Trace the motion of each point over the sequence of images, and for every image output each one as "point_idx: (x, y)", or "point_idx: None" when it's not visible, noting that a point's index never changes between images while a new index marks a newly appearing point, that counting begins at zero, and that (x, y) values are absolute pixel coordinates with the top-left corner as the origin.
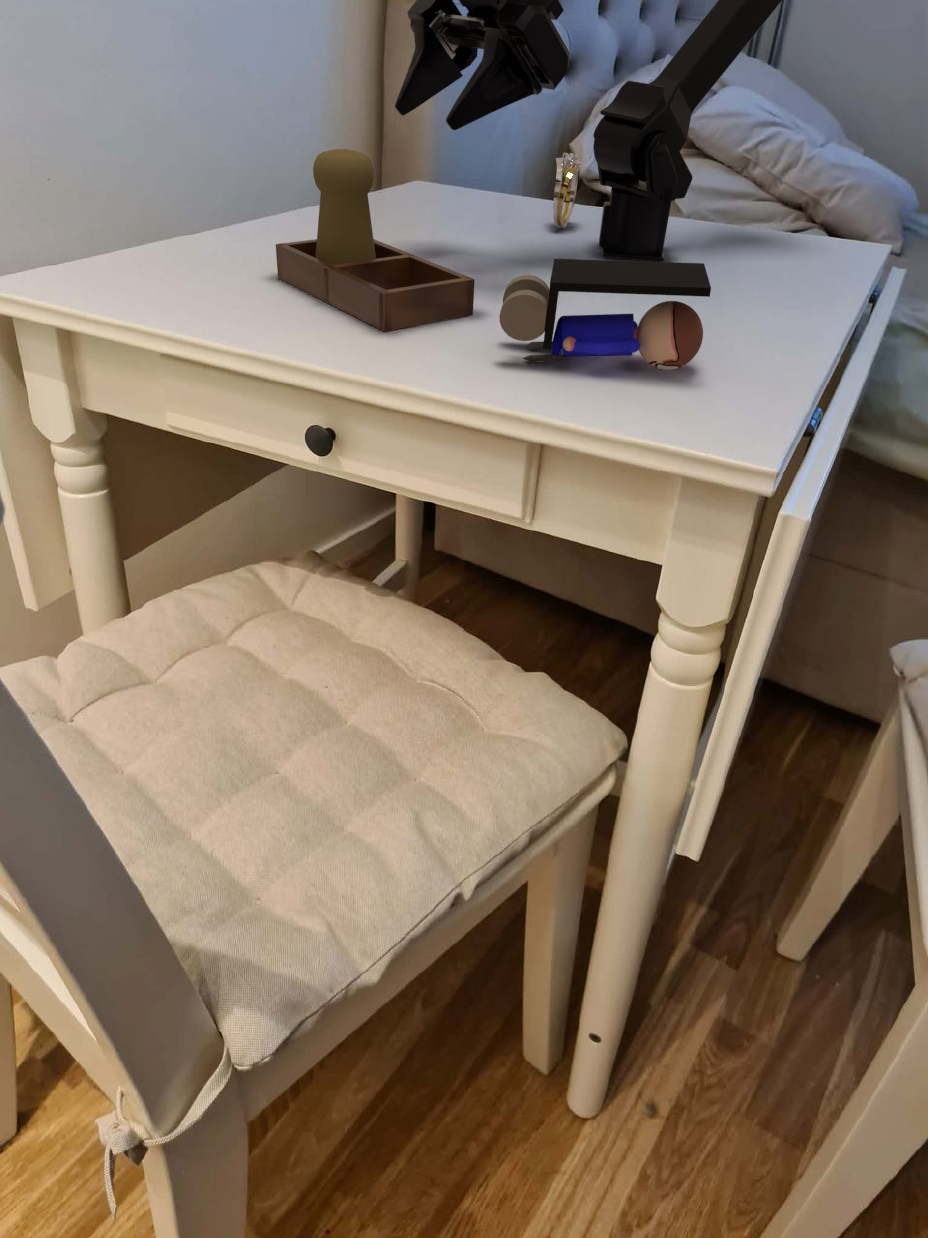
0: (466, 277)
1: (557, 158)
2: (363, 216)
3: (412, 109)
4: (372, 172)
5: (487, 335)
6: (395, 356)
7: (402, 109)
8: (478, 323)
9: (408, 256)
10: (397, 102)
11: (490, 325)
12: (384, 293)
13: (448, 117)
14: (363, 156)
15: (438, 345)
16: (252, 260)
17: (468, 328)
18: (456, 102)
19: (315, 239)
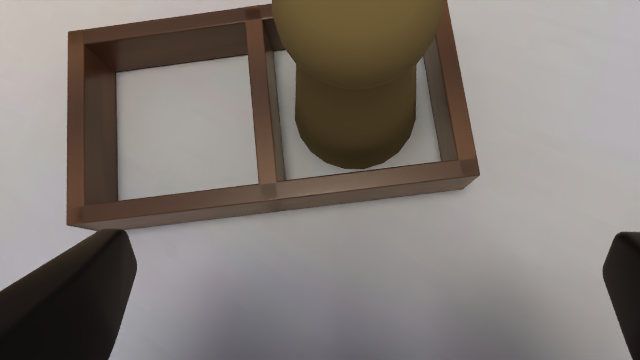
0: (80, 214)
1: None
2: (300, 73)
3: (623, 329)
4: (297, 57)
5: (11, 198)
6: (10, 33)
7: (613, 266)
8: (64, 217)
9: (262, 183)
10: (638, 239)
11: (46, 231)
12: (69, 33)
13: (100, 231)
14: (304, 13)
15: (15, 106)
16: (566, 13)
17: (52, 188)
18: (60, 271)
19: (456, 62)
